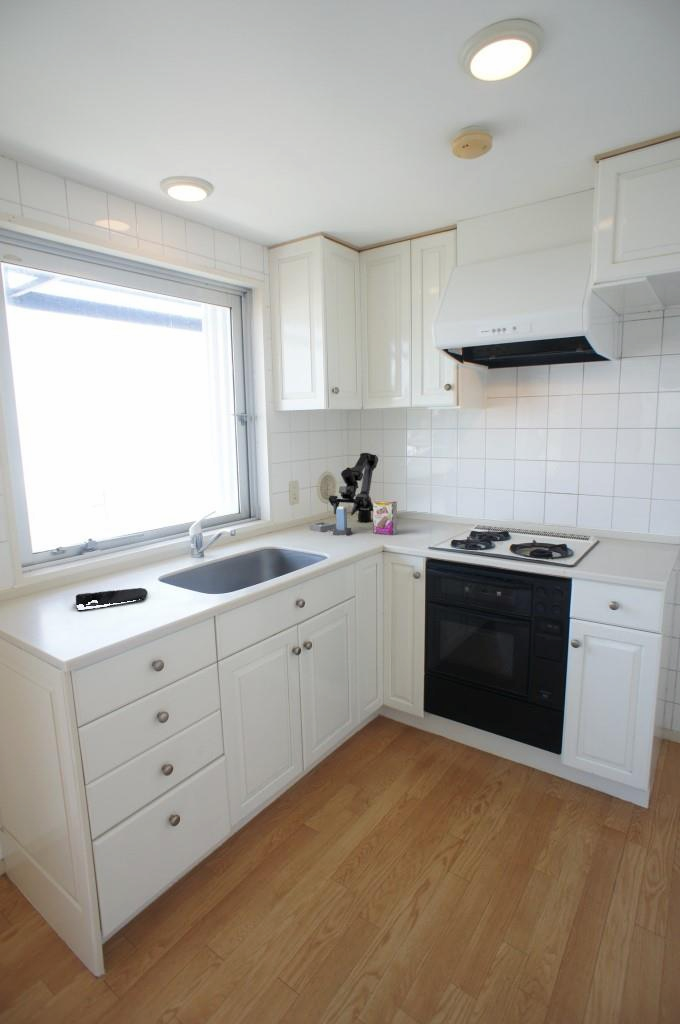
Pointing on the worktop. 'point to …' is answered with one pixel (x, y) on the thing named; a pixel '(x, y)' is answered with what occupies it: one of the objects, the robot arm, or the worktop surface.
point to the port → (322, 526)
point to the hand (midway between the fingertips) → (343, 514)
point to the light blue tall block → (341, 518)
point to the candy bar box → (385, 517)
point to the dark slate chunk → (111, 596)
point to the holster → (341, 532)
